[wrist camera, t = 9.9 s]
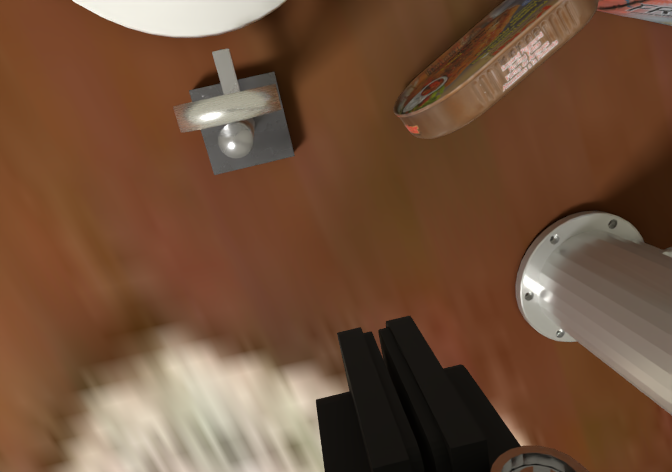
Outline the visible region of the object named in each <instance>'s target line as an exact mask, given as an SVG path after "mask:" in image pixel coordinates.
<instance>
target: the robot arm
mask: <svg viewBox="0 0 672 472" xmlns="http://www.w3.org/2000/svg"><path fill="white" fill-rule="evenodd" d="M516 299H517V303H518V307H519V309H520V311H521V313H522V315H523V317H524V319H525V320H526V321H527V322H528V323H529V324H530V326H532V327H533V328H534V329H535V330H537V331H538V332H539V333H540V334H542V335H544V336H546V337H547V338H550V339H553V340H556V341H563V342H575V341H578V342H579V343H580V344H581V345H583V346H584V347H585V348H587V349H588V350H589V351H590V352H592V353H593V354H594V355H595V356H597V357H598V358H599V359H601V360H602V361H603V362H604V363H606V364H607V365H608V366H610V367H611V368H612V369H613V370H615V371H616V372H617V373H618V374H620V375H621V376H622V377H624V378H625V379H626V380H627V381H629V382H630V383H631V384H632V385H634V386H635V387H636V388H638V389H639V390H640V391H641V392H643V393H644V394H645V395H647V396H648V397H649V398H650V399H652V400H653V401H654V402H655V403H657V404H658V405H659V406H661V407H662V408H663V409H664V410H666V411H667V412H668V413H670V414H671V415H672V247H669V248H666V249H665V250H662V249H659V248H657V247H654V246H652V245H649V244H646V243H644V240H643V238H642V236H641V235H640V233H639V232H638V230H637V229H636V228H635V227H634V226H633V225H632V224H631V223H630V222H628V221H626V220H625V219H623V218H621V217H619V216H616V215H613V214H610V213H607V212H601V211H583V212H579V213H575V214H571V215H569V216H567V217H564V218H562V219H560V220H558V221H556V222H555V223H554V224H552V225H551V226H549V227H548V228H546V229H545V230H544V231H543V232H542V233H541V234H540V235H539V236H538V237H537V238H536V239H535V240H534V242H533V243H532V244H531V246H530V247H529V248H528V250H527V252H526V254H525V255H524V257H523V259H522V261H521V264H520V267H519V270H518V273H517V279H516ZM337 335H338V340H339V344H340V349H341V353H342V358H343V363H344V367H345V372H346V377H347V381H348V386H349V391H350V392H346V393H342V394H337V395H333V396H329V397H325V398H321V399H317V400H316V407H317V414H318V422H319V430H320V438H321V445H322V453H323V461H324V468H325V472H589V471H588V470H587V469H586V468H585V467H584V466H583V465H581V464H580V463H579V462H577V461H576V460H575V459H573V458H572V457H570V456H569V455H567V454H565V453H562V452H560V451H558V450H555V449H552V448H547V447H542V446H520V444H519V443H518V442H517V440H516V439H515V437H514V436H513V434H512V433H511V432H510V430H509V429H508V427H507V426H506V424H505V423H504V422H503V420H502V419H501V417H500V416H499V415H498V413H497V412H496V410H495V409H494V407H493V406H492V405H491V403H490V402H489V400H488V399H487V397H486V396H485V395H484V393H483V392H482V390H481V389H480V388H479V386H478V385H477V383H476V382H475V380H474V379H473V378H472V376H471V375H470V373H469V372H468V370H467V369H466V368H465V367H464V366H463V365H456V366H452V367H448V368H444V369H443V368H442V366H441V365H440V363H439V361H438V360H437V358H436V357H435V355H434V353H433V352H432V350H431V348H430V347H429V345H428V344H427V342H426V340H425V339H424V337H423V336H422V334H421V332H420V331H419V329H418V327H417V326H416V324H415V323H414V321H413V319H412V318H411V316H406V317H402V318H398V319H394V320H389V321H386V328H384V329H379V338H380V344H381V349H382V354H383V358H382V356H381V353H380V351H379V348H378V346H377V343H376V341H375V339H374V336H373V334H372V332H367V333H363V332H362V329H361V327H360V328H355V329H351V330H347V331H343V332H338V333H337ZM383 360H384V361H383Z"/></svg>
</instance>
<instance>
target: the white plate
mask: <svg viewBox="0 0 672 472" xmlns="http://www.w3.org/2000/svg"><path fill="white" fill-rule="evenodd" d="M73 1H74V2H75V3H77V4H79V5H81V6H83V7H84V8H86V9H88V10H90V11H92V12H93V13H95V14H97V15H99V16H101V17H103V18H105V19H107V20H110V21H112V22H115V23H117V24H120V25H122V26H125V27H127V28H129V29H133V30H137V31H140V32H144V33H148V34H151V35H158V36H165V37H172V38H201V37H209V36H216V35H221V34H225V33H228V32H232V31H235V30H238V29H241V28H243V27H246V26H248V25H250V24H252V23H255V22H257V21H259V20H261V19H262V18H264V17H265V16H267V15H268V14H270V13H272V12H273V11H275V10H276V9H278V8H279V7H280V6H281V5H282V4H284V3H285V2H286V1H287V0H73Z"/></svg>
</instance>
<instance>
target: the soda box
mask: <svg viewBox="0 0 672 472" xmlns="http://www.w3.org/2000/svg"><path fill="white" fill-rule="evenodd" d="M597 11H601V12H606V13H611V14H615V15H620V16H625V17H631V18H637V19H642V20H647V21H652V22H656V23H661V24H666V25H670V26H672V0H599V1H598V7H597Z"/></svg>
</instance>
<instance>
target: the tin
mask: <svg viewBox="0 0 672 472" xmlns="http://www.w3.org/2000/svg"><path fill="white" fill-rule="evenodd" d="M598 1H599V0H505V1H504V2H502V3H501V4H500V5H499V6H497V7H496V8H495V9H494V10H492V11H491V12H490V13H489V14H488V15H487V16H485V17H484V18H483V19H482V20H481V21H480V22H479V23H477V24H476V25H475V26H474V27H473V28H472V29H471V30H470V31H468V32H467V33H466V34H465V35H464V36H463V37H462V38H460V39H459V40H458V41H457V42H456V43H455V44H454V45H452V46H451V47H450V48H449V49H448V50H447V51H445V52H444V53H443V54H442V55H441V56H440V57H439V58H437V59H436V60H435V61H434V62H433V63H432V64H431V65H429V66H428V67H427V68H426V69H425V70H424V71H423V72H421V73H420V74H419V75H418V76H417V77H416V78H415V79H414V80H413V81H412V82H411V83H410V84H409V85H408V86H407V87H406V88H405V90H404V91H403V92H402V93H401V94H400V96H399V97H398V99H397V101H396V103H395V105H394V113H395V115H397V116H399V118H400V119H401V120H402V122H403V123H404V124H405V126H406V127H407V129H408V130H409V131H410V132H411V134H412V135H413V136H415V137H418V138H426V139H434V138H438V137H441V136H444V135H447V134H449V133H452V132H454V131H456V130H458V129H460V128H462V127H463V126H465V125H467V124H468V123H470V122H472V121H473V120H475V119H476V118H477V117H479V116H480V115H482V114H483V113H485V112H486V111H487V110H488V109H490V108H491V107H492V106H493V105H494V104H496V103H497V102H498V101H499V100H500V99H501V98H502V97H504V96H505V95H506V94H507V93H509V92H510V91H511V90H512V89H513V88H514V87H516V86H517V85H518V84H519V83H520V82H521V81H523V80H524V79H525V78H526V77H527V76H529V75H530V74H531V73H532V72H533V71H534V70H535V69H537V68H538V67H539V66H540V65H541V64H542V63H543V62H545V61H546V60H547V59H548V58H549V57H550V56H552V55H553V54H554V53H555V52H556V51H557V50H559V49H560V48H561V47H562V46H563V45H564V44H565V43H567V42H568V41H569V40H570V39H571V38H572V37H573V36H575V35H576V34H577V33H578V32H579V31H580V30H581V29H582V28H583V27H584V26H585V25H586V24H587V23H588V22H589V20H590V19H591V18H592V17H593V15H594V13H595V12H596V10H597V7H598Z"/></svg>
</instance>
